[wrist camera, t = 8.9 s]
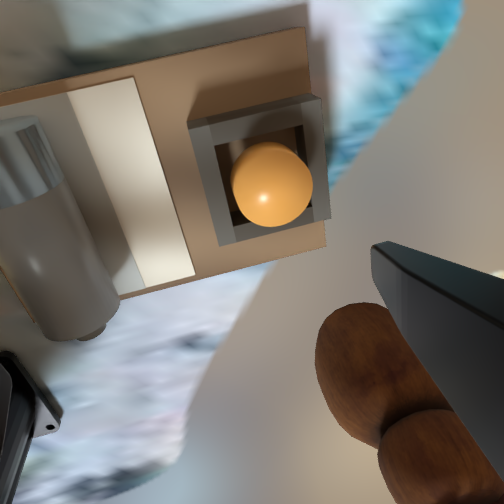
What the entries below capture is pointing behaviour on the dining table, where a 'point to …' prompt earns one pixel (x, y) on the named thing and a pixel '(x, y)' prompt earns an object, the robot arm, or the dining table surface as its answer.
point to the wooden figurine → (399, 411)
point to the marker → (49, 239)
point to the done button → (271, 184)
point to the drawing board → (182, 156)
